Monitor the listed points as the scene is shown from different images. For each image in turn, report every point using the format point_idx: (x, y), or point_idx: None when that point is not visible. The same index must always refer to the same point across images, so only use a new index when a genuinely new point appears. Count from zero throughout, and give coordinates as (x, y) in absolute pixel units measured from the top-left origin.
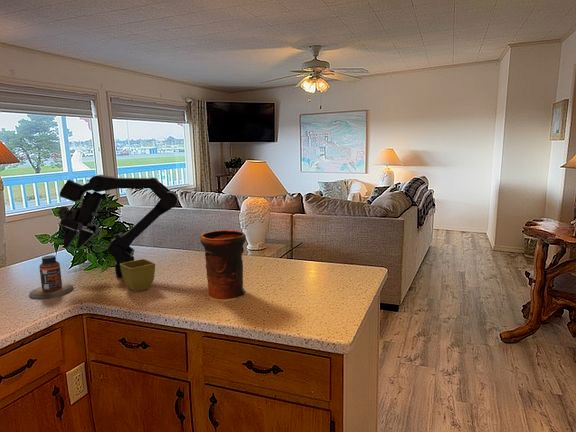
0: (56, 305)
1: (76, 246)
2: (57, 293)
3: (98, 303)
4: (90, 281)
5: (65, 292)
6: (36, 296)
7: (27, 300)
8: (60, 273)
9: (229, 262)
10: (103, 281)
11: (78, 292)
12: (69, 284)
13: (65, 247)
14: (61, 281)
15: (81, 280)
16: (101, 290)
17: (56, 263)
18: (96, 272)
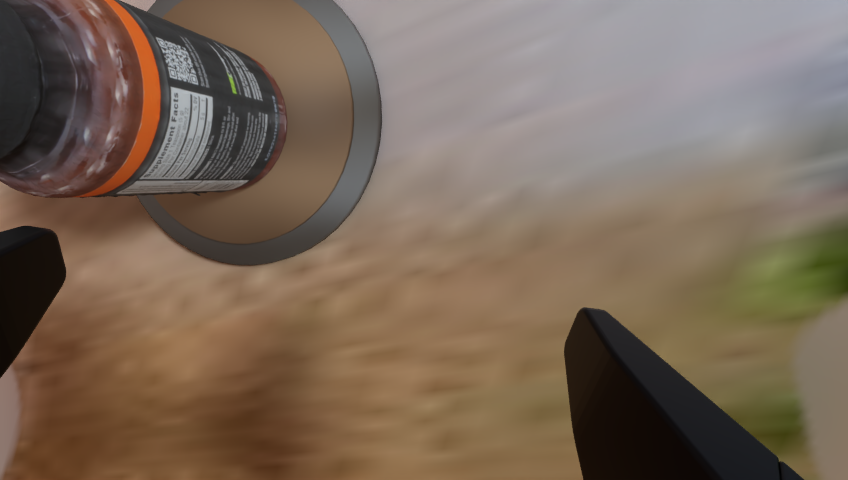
0: None
1: (590, 323)
2: None
3: (19, 452)
4: (415, 353)
5: (171, 236)
6: None
7: None
8: (148, 194)
9: None
10: (388, 450)
11: (196, 311)
12: (333, 216)
13: (37, 265)
14: (209, 191)
15: (464, 275)
16: (203, 451)
17: (3, 179)
18: (688, 366)
